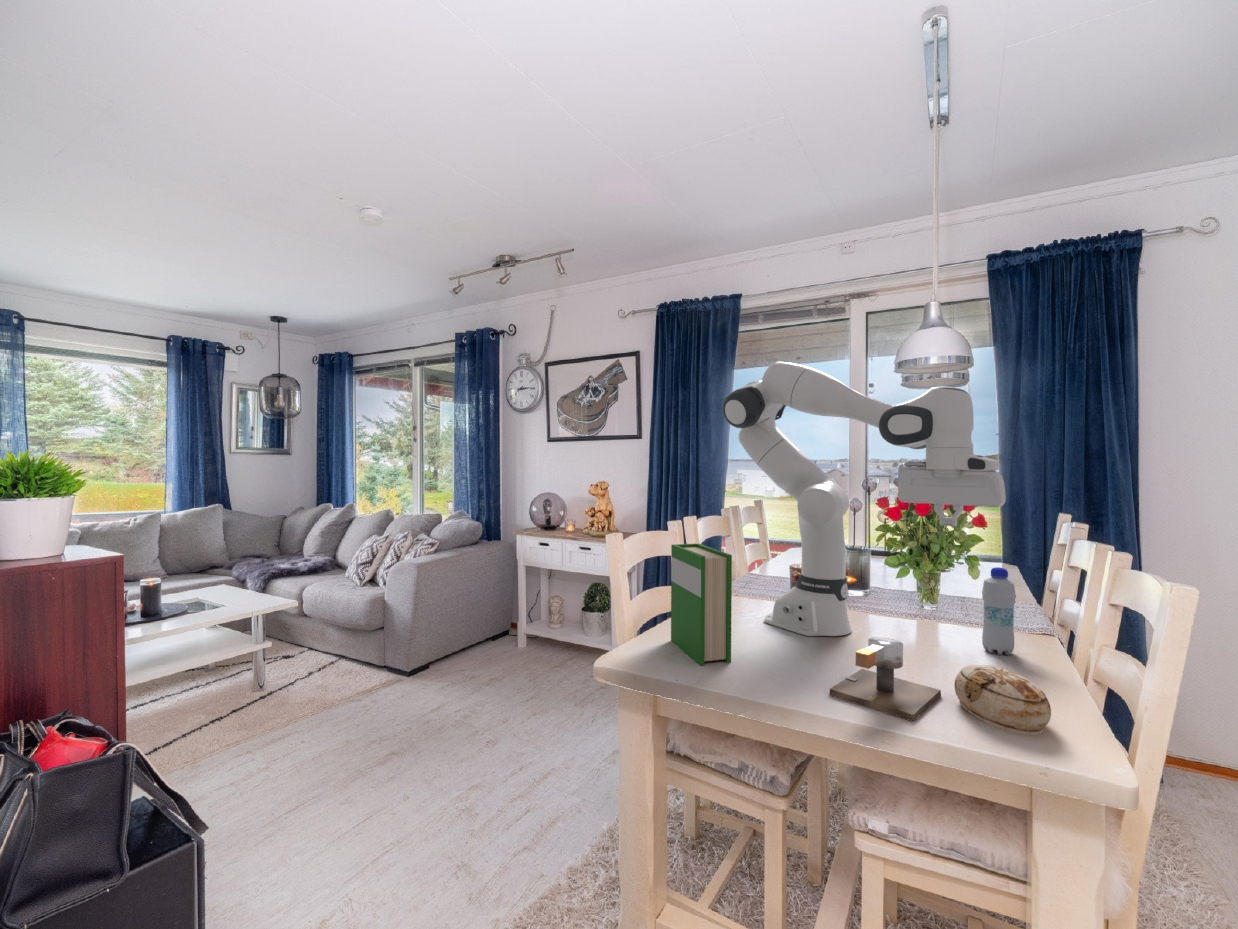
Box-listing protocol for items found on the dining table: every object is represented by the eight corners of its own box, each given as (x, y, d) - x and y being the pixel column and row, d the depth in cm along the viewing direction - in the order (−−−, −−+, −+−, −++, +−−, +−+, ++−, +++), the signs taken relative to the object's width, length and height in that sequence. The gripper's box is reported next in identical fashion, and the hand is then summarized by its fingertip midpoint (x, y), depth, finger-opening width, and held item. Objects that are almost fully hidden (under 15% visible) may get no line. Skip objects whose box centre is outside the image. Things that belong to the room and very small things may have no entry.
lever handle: (876, 655, 112) (876, 634, 111) (908, 663, 107) (908, 641, 107) (845, 671, 103) (845, 649, 103) (878, 681, 98) (878, 657, 98)
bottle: (1011, 649, 134) (1012, 566, 134) (1018, 658, 128) (1019, 571, 128) (978, 645, 137) (979, 563, 136) (983, 654, 131) (984, 568, 130)
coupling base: (829, 695, 108) (829, 664, 107) (861, 674, 118) (862, 646, 118) (913, 721, 97) (913, 687, 97) (940, 696, 107) (940, 665, 107)
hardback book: (731, 662, 124) (731, 555, 124) (700, 666, 122) (701, 556, 122) (698, 638, 141) (698, 543, 141) (670, 640, 139) (671, 544, 139)
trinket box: (964, 691, 110) (964, 651, 110) (1060, 718, 99) (1061, 673, 99) (940, 712, 101) (940, 669, 101) (1043, 744, 90) (1043, 695, 89)
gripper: (893, 461, 126) (892, 522, 126) (1000, 462, 111) (1000, 531, 111) (903, 461, 130) (902, 520, 130) (1008, 462, 116) (1007, 528, 116)
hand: (948, 525), depth 121 cm, fingers closed
